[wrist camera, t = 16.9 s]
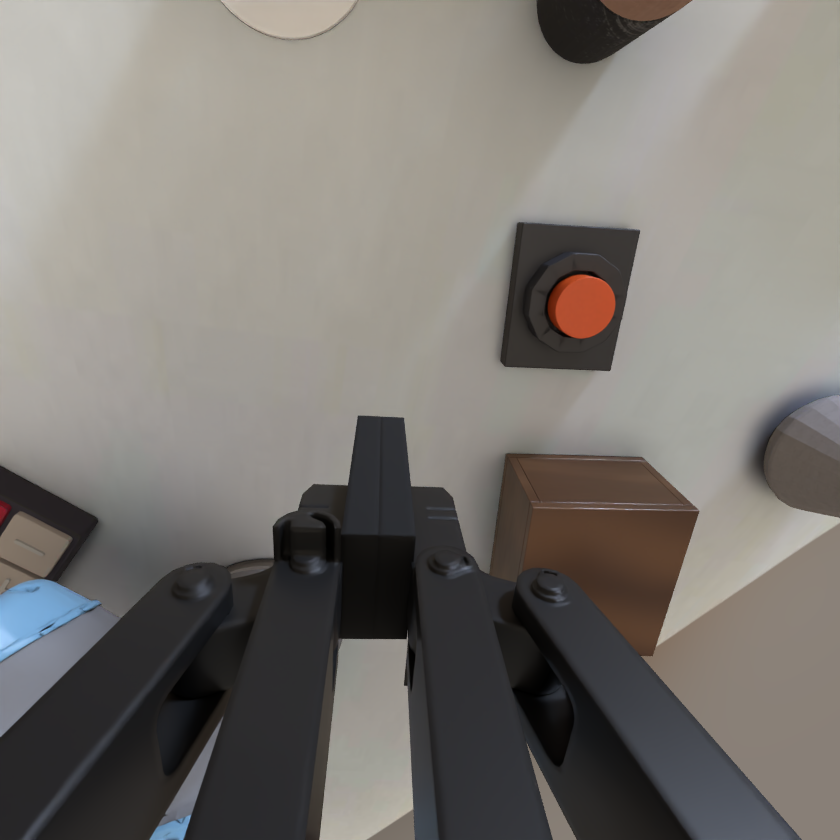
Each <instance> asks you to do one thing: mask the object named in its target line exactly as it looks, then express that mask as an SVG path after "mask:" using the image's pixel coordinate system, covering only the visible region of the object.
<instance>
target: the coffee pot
mask: <svg viewBox="0 0 840 840" xmlns="http://www.w3.org/2000/svg"><path fill="white" fill-rule="evenodd" d="M764 472H765V476H766V479H767V482H768V485H769V487H770V488H771V490H772V491H773V492H774V494H775V495H776V496H777V498H778V499H779V500H781V501H782V502H784V503H786V504H787V505H789V506H791V507H793V508H797V509H801V510H805V511H810V512H814V513H819V514H824V515H829V516H834V517H839V518H840V395H834V396H829V397H825V398H821V399H818V400H815V401H813V402H811V403H809V404H807V405H805V406H803V407H801V408H799V409H798V410H796V411H795V412H793V413H792V414H790V415H789V416H787V417H786V418H785V419H784V420H783V421H782V422H781V423H780V424H779V425H778V426H777V427H776V428H775V430H774V432H773V433H772V435H771V437H770V439H769V442H768V445H767V449H766V452H765V456H764Z"/></svg>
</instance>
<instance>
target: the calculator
mask: <svg viewBox="0 0 840 840" xmlns="http://www.w3.org/2000/svg"><path fill="white" fill-rule="evenodd" d="M96 524H97V519H96V518H95V517H94V516H92V515H90V514H88V513H86V512H84V511H82V510H81V509H79V508H77V507H75V506H73V505H71V504H69V503H67V502H66V501H64V500H62V499H60V498H58V497H56V496H54V495H53V494H51V493H49V492H47V491H45V490H43V489H41V488H39V487H38V486H36V485H34V484H32V483H30V482H28V481H26V480H25V479H23V478H21V477H19V476H17V475H15V474H13V473H11V472H10V471H8V470H6V469H4V468H2V467H0V595H1V594H2V593H4V592H5V591H7V590H8V589H10V588H12V587H14V586H16V585H18V584H20V583H23V582H26V581H30V580H36V579H45V580H50V581H53V582H57V580H58V579H59V577H60V576H61V574H62V573H63V571H64V570H65V569H66V567H67V566H68V564H69V563H70V561H71V560H72V559H73V557H74V556H75V554H76V553H77V551H78V550H79V548H80V547H81V546H82V544H83V543H84V541H85V540H86V538H87V537H88V536H89V534H90V533H91V531H92V530H93V528H94V527H95V525H96Z"/></svg>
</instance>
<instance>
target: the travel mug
mask: <svg viewBox="0 0 840 840" xmlns="http://www.w3.org/2000/svg"><path fill="white" fill-rule="evenodd" d="M691 1H692V0H538V1H537V9H538V18H539V23H540V27H541V30H542V33H543V35H544V37H545V39H546V41H547V42H548V44H549V45H550V47H551V48H552V49H553V50H554V51H555V52H556V53H557V54H558V55H560V56H561V57H563V58H564V59H566V60H569V61H572V62H575V63H592V62H597V61H599V60H602V59H604V58H606V57H608V56H610V55H612V54H613V53H615V52H616V51H618V50H620V49H621V48H623V47H624V46H626V45H627V44H629V43H630V42H632V41H633V40H635V39H636V38H638V37H639V36H641V35H642V34H644V33H645V32H647V31H648V30H650V29H651V28H653V27H654V26H656V25H657V24H659V23H660V22H662V21H663V20H665V19H666V18H668V17H669V16H671V15H672V14H674V13H675V12H677V11H678V10H680V9H681V8H682V7H684V6H685V5H687V4H688V3H689V2H691Z"/></svg>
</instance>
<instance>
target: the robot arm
mask: <svg viewBox="0 0 840 840" xmlns="http://www.w3.org/2000/svg"><path fill="white" fill-rule="evenodd" d="M273 543H274V560H272V559H258V560H249V561H244V562H240V563H237V564H234V565H231V566H229V567H227V568H225V567H223V566H221V565H218V564H215V563H202V562H200V563H195V564H189V565H185V566H183V567H180V568H178V569H176V570H173V571H172V572H170V573H169V574H167V575H166V576H165V577H163V578H162V579H161V580H160V581H159V582H158V583H157V584H156V585H155V586H154V587H153V588H152V589H151V590H150V591H149V592H148V593H147V594H146V595H145V596H144V597H142V598H141V599H140V600H139V601H138V602H137V603H136V604H135V605H134V606H133V607H132V608H131V609H130V610H129V611H128V612H127V613H126V614H125V615H124V616H123V617H122V618H120V617H118V616H116V615H115V614H113V613H111V612H110V611H108V610H106V609H105V608H103V607H101V606H100V605H101V604H102V603H101V602H99V601H98V600H93V601H91V600H89V599H87V598H85V597H83V596H81V595H79V594H77V593H75V592H73V591H71V590H69V589H68V588H66V587H64V586H62V585H60V584H58V583H56V582H53V581H50V580H45V579H36V580H30V581H26V582H23V583H20V584H18V585H16V586H14V587H12V588H10V589H8V590H7V591H5V592H4V593H2V594H1V595H0V840H319V837H320V828H321V818H322V808H323V799H324V789H325V780H326V770H327V761H328V751H329V741H330V732H331V722H332V713H333V703H334V694H335V684H336V674H337V665H338V650H339V648H340V645H341V642H342V639H407V630H408V648H407V659H406V669H405V680H404V686H408V702H409V724H410V745H411V766H412V787H413V808H414V830H415V840H553V839H552V835H551V832H550V828H549V824H548V821H547V817H546V813H545V810H544V806H543V802H542V799H541V795H540V791H539V788H538V784H537V780H536V777H535V773H534V770H533V766H532V762H531V758H530V755H529V751H528V747H527V744H528V746H529V748H530V750H531V752H532V754H533V756H534V758H535V759H536V762H537V763H538V765H539V767H540V769H541V771H542V773H543V775H544V777H545V779H546V781H547V783H548V785H549V787H550V789H551V791H552V792H553V794H554V796H555V798H556V800H557V802H558V804H559V806H560V808H561V810H562V812H563V814H564V816H565V818H566V820H567V822H568V824H569V825H570V827H571V829H572V831H573V833H574V835H575V837H576V839H577V840H801V838H799V836H798V835H797V834H796V833H795V831H794V830H793V829H792V828H791V827H790V826H789V825H788V823H787V822H786V821H785V820H784V819H783V818H782V817H781V816H780V814H779V813H778V812H777V811H776V810H775V809H774V807H772V805H771V804H770V803H769V802H768V801H767V800H766V798H765V797H764V796H763V795H762V794H761V793H760V792H759V790H758V789H757V788H756V787H755V786H754V785H753V784H752V782H751V781H750V780H749V779H748V778H747V777H746V776H745V774H744V773H743V772H742V771H741V770H740V769H739V768H738V766H737V765H736V764H735V763H734V762H733V761H732V760H731V758H730V757H729V756H728V755H727V754H726V753H725V752H724V751H723V749H722V748H721V747H720V746H719V745H718V744H717V743H716V742H715V740H714V739H713V738H712V737H711V736H710V735H709V733H708V732H707V731H706V730H705V729H704V728H703V727H702V725H701V724H700V723H699V722H698V721H697V720H696V719H695V717H694V716H693V715H692V714H691V713H690V712H689V711H688V709H687V708H686V707H685V706H684V705H683V704H682V703H681V702H680V701H679V699H678V698H677V697H676V696H675V695H674V693H672V691H671V690H670V689H669V688H668V687H667V685H666V684H665V683H664V682H663V681H662V680H661V679H660V678H659V676H658V675H657V674H656V673H655V672H654V671H653V670H652V669H651V667H650V666H649V665H648V664H647V663H646V662H645V660H644V659H643V658H642V657H641V656H640V655H639V654H638V652H637V651H636V650H635V649H634V648H633V647H632V646H631V644H630V643H629V642H628V641H627V640H626V639H625V638H624V636H623V635H622V634H621V633H620V632H619V631H618V630H617V628H616V627H615V626H614V625H613V624H612V623H611V622H610V621H609V619H608V618H607V617H606V616H605V615H604V614H603V613H602V611H601V610H600V609H599V608H598V607H597V606H596V605H595V603H594V602H593V601H592V600H591V599H590V598H589V597H588V595H587V594H586V593H585V592H584V591H583V590H582V589H581V587H580V586H579V585H578V584H577V583H576V582H574V581H573V580H572V579H571V578H570V577H569V576H566V575H564V574H562V573H560V572H558V571H556V570H552V569H547V568H531V569H528V570H525V571H523V572H522V573H521V574H520V575H519V576H518V577H517V581H516V582H513V581H509V580H505V579H501V578H497V577H494V576H491V575H488V574H487V573H485V572H483V571H481V570H480V569H479V567H478V564H477V563H476V561H475V559H474V557H472V556H471V555H470V554H469V553H467V552H466V548H465V545H464V541H463V537H462V533H461V529H460V525H459V521H458V517H457V513H456V511H455V505H454V501H453V497H452V496H451V495H450V494H449V493H448V492H447V491H446V490H445V489H444V488H440V487H412V486H411V483H410V473H409V463H408V453H407V443H406V434H405V424H404V418H398V417H378V416H358V419H357V426H356V433H355V440H354V447H353V454H352V461H351V468H350V475H349V482H348V486H347V485H319V484H313V485H312V486H311V487H310V488H309V489H308V490H307V491H305V492H304V493H303V495H302V498H301V501H300V504H299V508H298V511H295V512H292V513H288V514H286V515H284V516H283V517H281V518H280V519H278V520H277V522H276V523H275V524H274V526H273ZM526 742H527V744H526Z"/></svg>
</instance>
